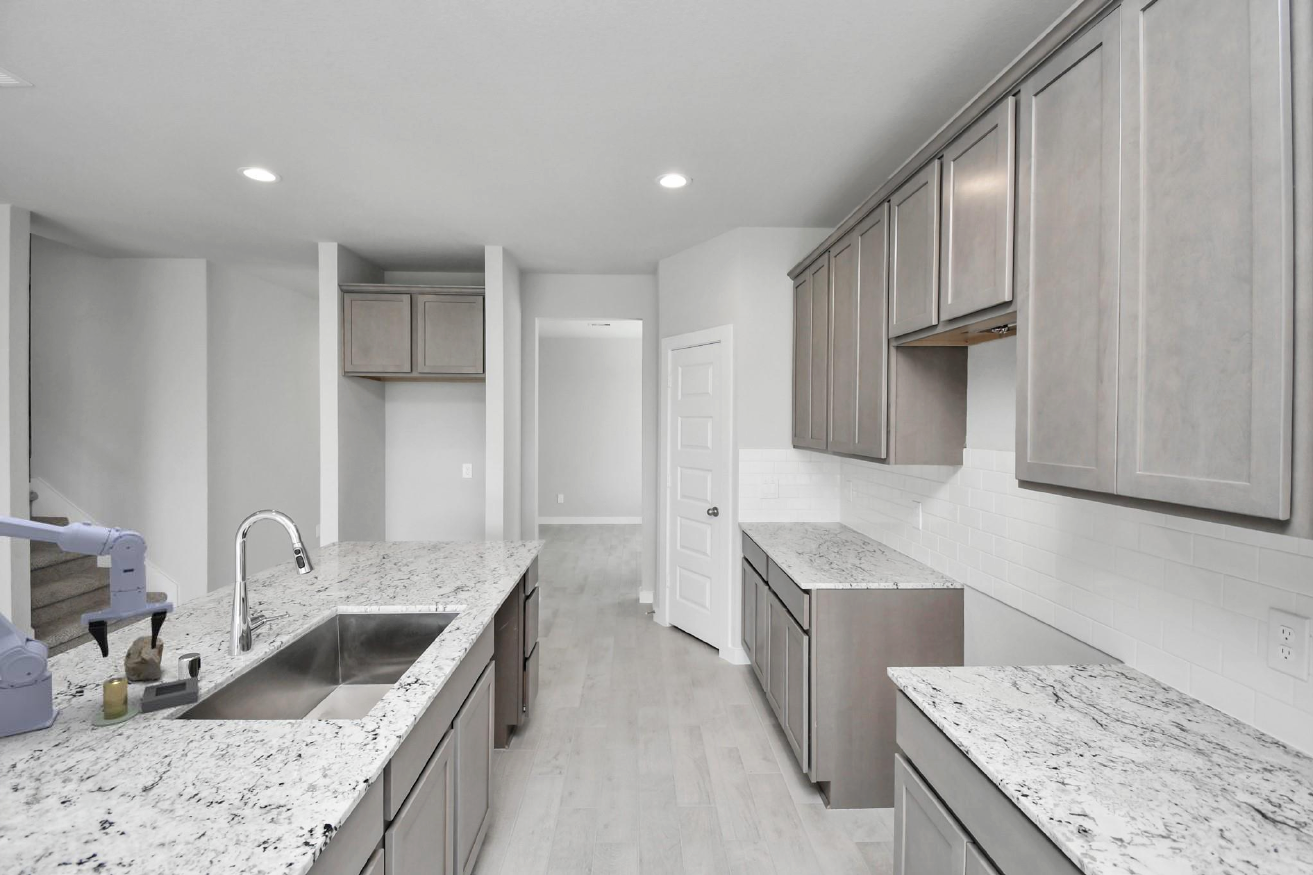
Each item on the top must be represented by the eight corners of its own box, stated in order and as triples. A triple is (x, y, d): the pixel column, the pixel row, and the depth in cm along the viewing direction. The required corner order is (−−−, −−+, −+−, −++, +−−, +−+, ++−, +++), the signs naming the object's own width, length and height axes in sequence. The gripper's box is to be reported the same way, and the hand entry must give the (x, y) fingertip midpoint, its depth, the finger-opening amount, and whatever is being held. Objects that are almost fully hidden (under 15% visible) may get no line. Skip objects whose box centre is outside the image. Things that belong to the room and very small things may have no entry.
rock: (121, 665, 142) (129, 628, 140) (157, 661, 146) (164, 625, 145) (120, 698, 133) (127, 659, 131) (158, 693, 138) (166, 655, 136)
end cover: (102, 721, 117) (101, 685, 117) (105, 714, 120) (104, 678, 120) (126, 716, 119) (126, 680, 119) (128, 709, 122) (128, 674, 122)
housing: (141, 713, 121) (141, 702, 121) (145, 697, 128) (145, 686, 128) (197, 701, 126) (197, 691, 126) (198, 686, 134) (197, 676, 134)
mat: (88, 729, 115) (88, 727, 115) (94, 715, 120) (94, 713, 120) (137, 719, 119) (136, 717, 119) (140, 705, 124) (140, 703, 124)
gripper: (77, 598, 119) (79, 666, 119) (171, 586, 127) (173, 649, 128) (83, 590, 124) (85, 655, 125) (173, 579, 133) (174, 639, 133)
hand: (130, 651), depth 127 cm, fingers open, 7 cm apart
